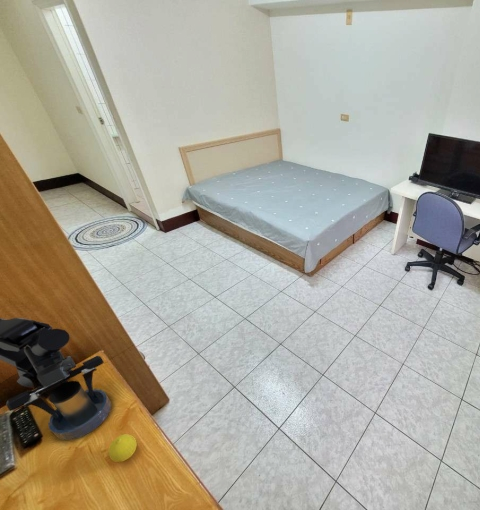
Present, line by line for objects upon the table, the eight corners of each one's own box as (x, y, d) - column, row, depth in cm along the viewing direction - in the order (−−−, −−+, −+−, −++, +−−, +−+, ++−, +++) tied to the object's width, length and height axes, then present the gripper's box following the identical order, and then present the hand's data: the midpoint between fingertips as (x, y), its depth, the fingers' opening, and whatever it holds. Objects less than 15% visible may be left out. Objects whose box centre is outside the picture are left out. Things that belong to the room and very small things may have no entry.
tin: (67, 416, 76) (46, 391, 70) (94, 400, 81) (77, 376, 74) (72, 431, 73) (51, 407, 67) (100, 414, 77) (82, 390, 71)
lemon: (127, 469, 68) (117, 455, 64) (109, 463, 68) (97, 449, 64) (145, 446, 72) (136, 431, 68) (128, 440, 73) (118, 426, 69)
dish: (51, 418, 76) (44, 410, 74) (104, 388, 85) (100, 381, 82) (60, 450, 70) (53, 443, 68) (116, 415, 78) (112, 408, 76)
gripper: (-15, 382, 60) (19, 440, 60) (88, 336, 73) (116, 383, 74) (-1, 382, 68) (29, 432, 68) (90, 340, 81) (116, 383, 82)
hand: (75, 406), depth 73 cm, fingers open, 7 cm apart
